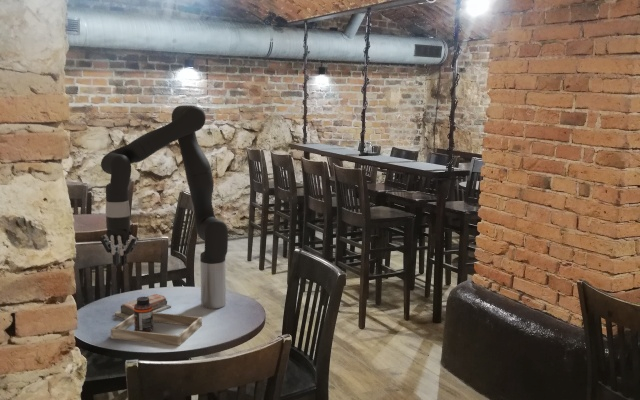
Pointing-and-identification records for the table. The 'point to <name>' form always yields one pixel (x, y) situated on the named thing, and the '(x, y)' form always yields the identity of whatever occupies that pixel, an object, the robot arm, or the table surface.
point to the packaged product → (156, 300)
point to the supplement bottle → (143, 315)
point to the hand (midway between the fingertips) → (119, 265)
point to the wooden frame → (124, 334)
